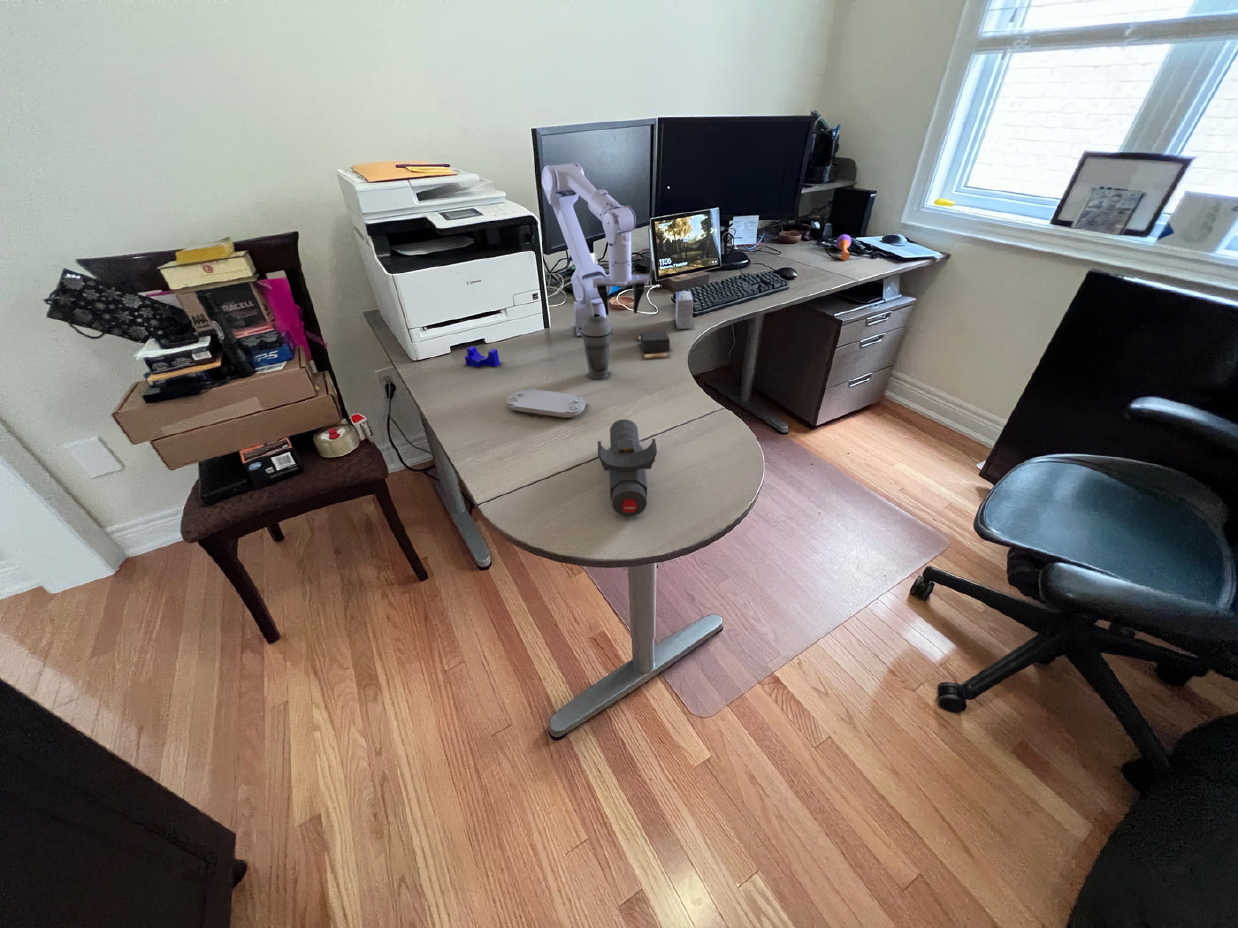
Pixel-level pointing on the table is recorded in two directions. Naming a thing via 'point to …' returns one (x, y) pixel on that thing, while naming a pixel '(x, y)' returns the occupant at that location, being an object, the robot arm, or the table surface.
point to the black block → (654, 341)
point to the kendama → (843, 246)
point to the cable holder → (481, 358)
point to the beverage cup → (596, 343)
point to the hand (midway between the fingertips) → (621, 312)
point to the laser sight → (627, 467)
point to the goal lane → (660, 355)
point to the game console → (546, 403)
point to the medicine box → (684, 310)
